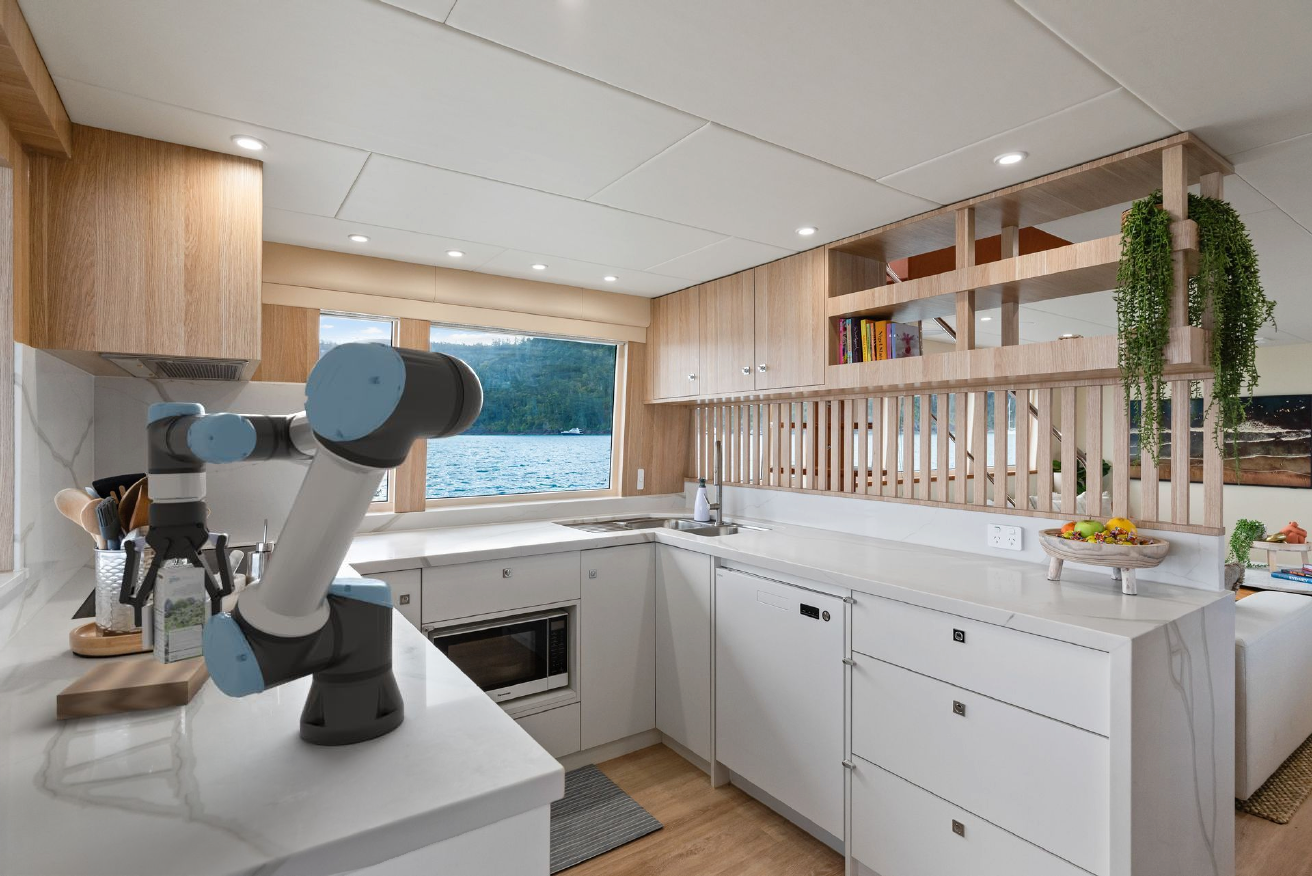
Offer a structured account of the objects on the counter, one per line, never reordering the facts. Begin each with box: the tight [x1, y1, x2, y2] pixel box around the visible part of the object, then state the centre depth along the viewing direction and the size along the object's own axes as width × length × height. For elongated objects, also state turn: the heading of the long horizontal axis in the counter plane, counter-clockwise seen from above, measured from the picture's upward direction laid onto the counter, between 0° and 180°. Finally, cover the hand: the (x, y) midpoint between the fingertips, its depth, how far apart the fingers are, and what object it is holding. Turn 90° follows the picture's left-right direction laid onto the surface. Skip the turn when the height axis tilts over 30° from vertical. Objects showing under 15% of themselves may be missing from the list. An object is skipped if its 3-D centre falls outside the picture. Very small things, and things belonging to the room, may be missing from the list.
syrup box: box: [152, 562, 207, 664], centre depth 107 cm, size 6×6×14 cm
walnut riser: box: [56, 656, 211, 721], centre depth 119 cm, size 18×16×4 cm
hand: (179, 643), depth 107 cm, fingers closed on syrup box, 8 cm apart
